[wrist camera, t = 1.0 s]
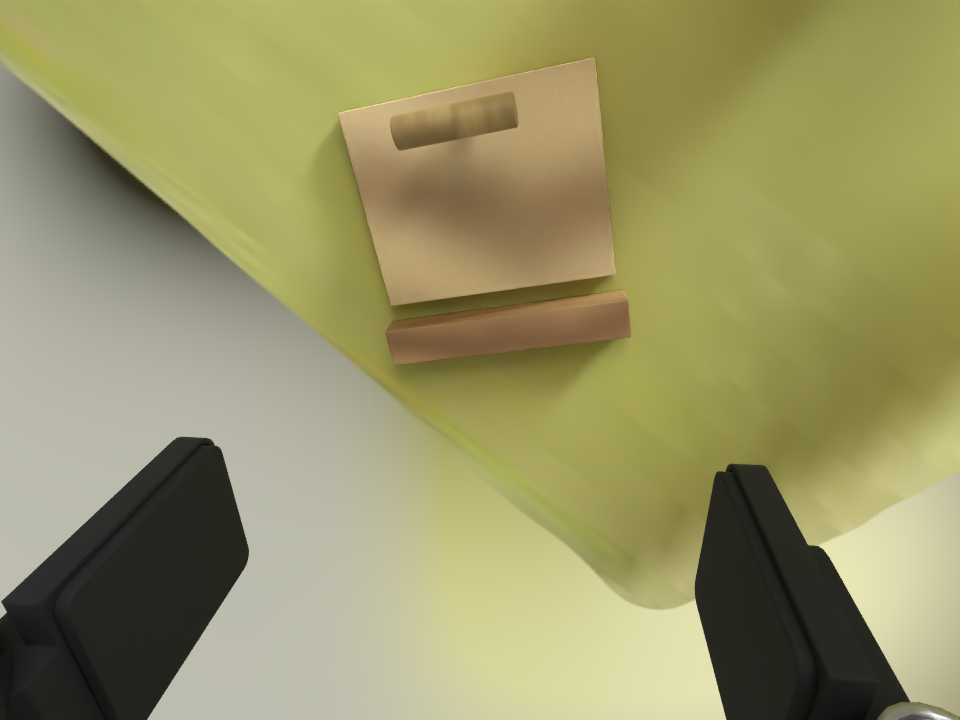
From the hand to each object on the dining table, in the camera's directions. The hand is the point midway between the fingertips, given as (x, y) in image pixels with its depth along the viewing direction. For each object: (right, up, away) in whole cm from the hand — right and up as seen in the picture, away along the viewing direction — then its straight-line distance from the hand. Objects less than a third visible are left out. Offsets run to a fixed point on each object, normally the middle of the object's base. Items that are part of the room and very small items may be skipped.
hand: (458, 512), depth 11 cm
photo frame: (+1, +13, +22) cm, 26 cm away
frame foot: (+2, +5, +26) cm, 26 cm away
